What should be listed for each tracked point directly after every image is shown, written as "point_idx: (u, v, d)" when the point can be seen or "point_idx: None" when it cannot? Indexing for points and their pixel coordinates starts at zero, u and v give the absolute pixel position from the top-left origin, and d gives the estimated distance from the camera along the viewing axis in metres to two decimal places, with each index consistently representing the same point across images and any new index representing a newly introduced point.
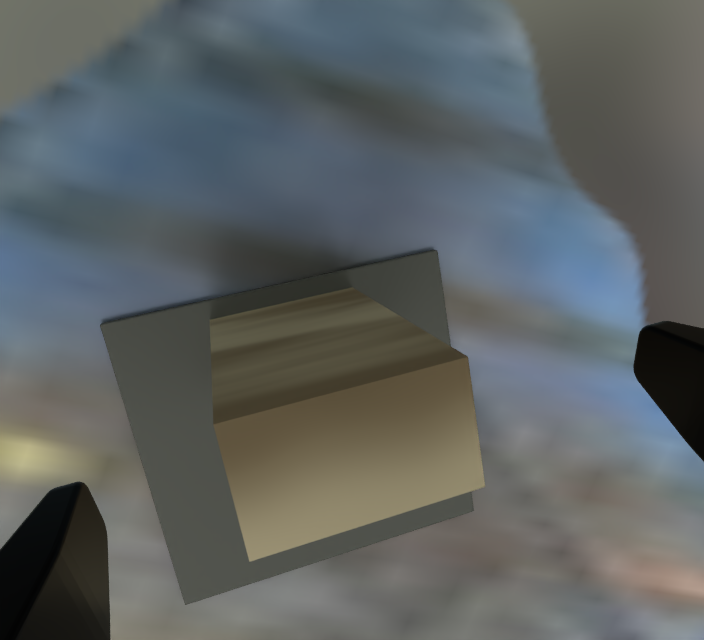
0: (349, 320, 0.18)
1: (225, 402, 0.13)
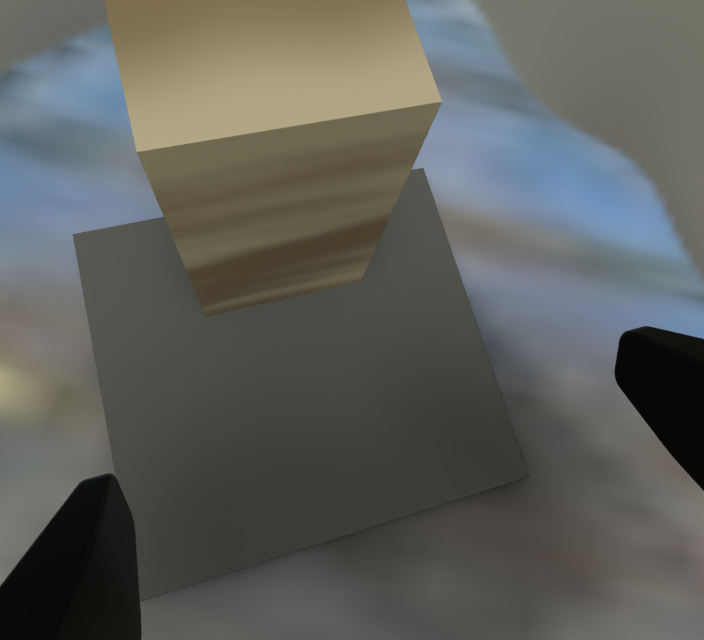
0: None
1: None
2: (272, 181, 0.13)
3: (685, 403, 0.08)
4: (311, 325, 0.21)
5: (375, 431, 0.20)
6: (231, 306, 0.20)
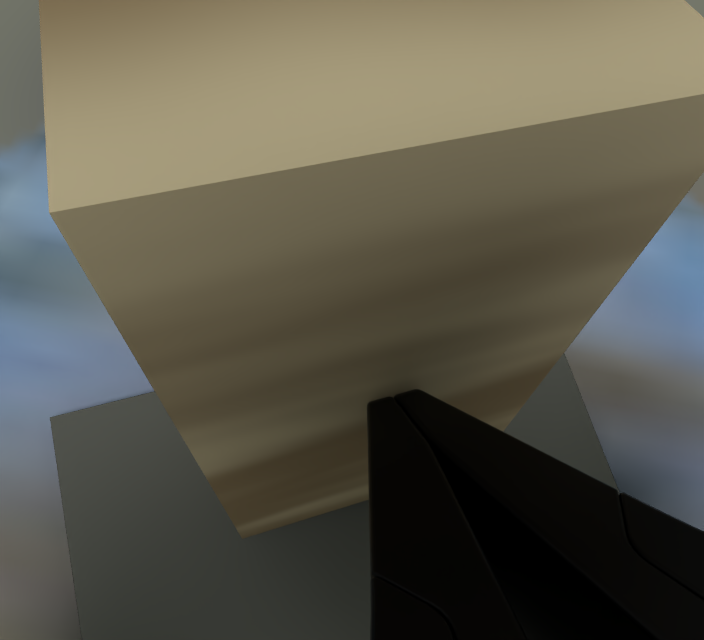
0: None
1: None
2: (377, 297, 0.06)
3: None
4: None
5: None
6: (282, 520, 0.13)
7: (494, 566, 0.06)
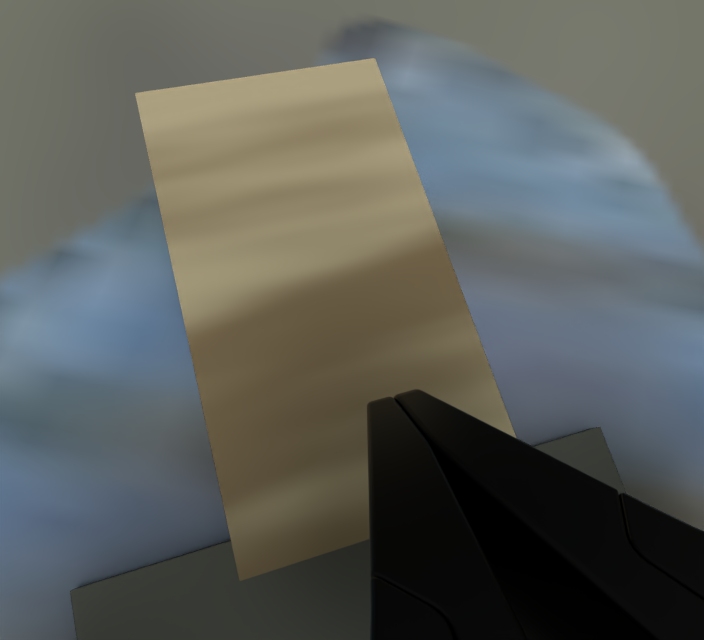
0: None
1: None
2: (258, 144, 0.13)
3: None
4: None
5: None
6: (285, 531, 0.11)
7: (494, 566, 0.06)
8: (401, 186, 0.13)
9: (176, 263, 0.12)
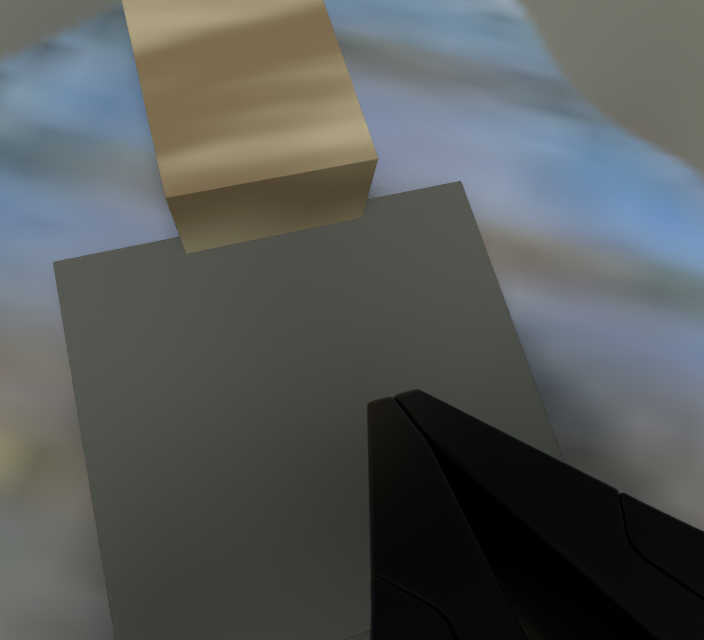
0: None
1: None
2: None
3: None
4: (334, 368, 0.18)
5: None
6: (198, 172, 0.15)
7: (494, 566, 0.06)
8: None
9: (127, 10, 0.17)
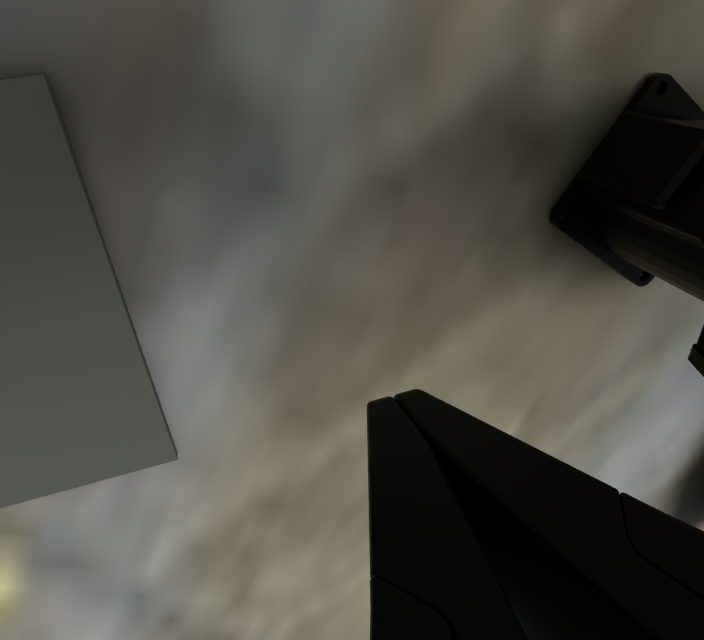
0: None
1: None
2: None
3: None
4: None
5: None
6: None
7: (494, 566, 0.06)
8: None
9: None
